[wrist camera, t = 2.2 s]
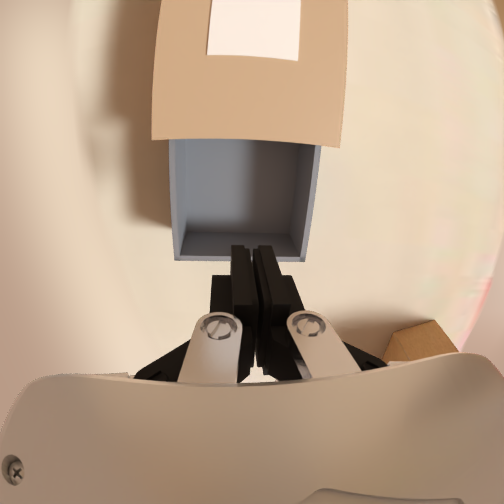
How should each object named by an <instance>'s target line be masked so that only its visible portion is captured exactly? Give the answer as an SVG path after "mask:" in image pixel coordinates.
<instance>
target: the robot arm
mask: <svg viewBox="0 0 504 504" xmlns="http://www.w3.org/2000/svg"><path fill="white" fill-rule="evenodd" d="M255 354H256V361H257V367H262V368H263V375H270V376H272V377H274V378H275V379H276V380H275V382H260V383H240V382H242V381H243V380H244V379H245V378H246V377H247V376H249V375H250V367H253V366H254V356H255ZM0 504H504V377H503V376H502V374H501V373H500V372H499V371H498V369H497V368H496V367H495V366H494V365H493V364H492V363H491V361H490V360H488V359H487V358H486V357H484V356H482V355H479V354H475V353H466V352H454V353H447V354H440V355H436V356H432V357H427V358H422V359H418V360H414V361H389V362H388V364H386V363H385V362H384V361H382V360H381V359H379V358H377V357H375V356H372V355H370V354H368V353H366V352H364V351H362V350H360V349H358V348H356V347H354V346H351V345H349V344H347V343H345V342H343V341H342V340H341V339H340V337H339V336H338V334H337V333H336V331H335V330H334V329H333V327H332V326H331V324H330V323H329V321H328V320H327V319H326V318H325V317H324V316H322V315H321V314H319V313H316V312H313V311H305V309H304V306H303V304H302V301H301V298H300V296H299V293H298V291H297V288H296V285H295V283H294V280H293V278H292V276H291V275H282V274H281V271H280V268H279V265H278V262H277V260H276V257H275V254H274V251H273V248H272V245H258V249H253V256H252V261H251V255H250V249H249V248H245V246H244V245H231V271H230V275H212V286H211V300H210V313H209V314H206V315H204V316H202V317H201V318H200V319H199V320H198V321H197V323H196V325H195V328H194V331H193V334H192V337H191V339H190V340H188V341H187V342H185V343H184V344H182V345H180V346H179V347H177V348H176V349H174V350H172V351H171V352H169V353H167V354H166V355H164V356H162V357H161V358H159V359H157V360H156V361H154V362H152V363H151V364H149V365H147V366H146V367H144V368H142V369H141V370H140V371H138V372H137V373H136V375H131V376H129V375H128V373H127V372H126V373H111V374H58V375H51V376H45V377H41V378H38V379H35V380H33V381H31V382H30V383H28V384H27V385H26V386H25V387H24V388H23V389H22V390H21V392H20V393H19V394H18V396H17V398H16V399H15V401H14V403H13V405H12V406H11V408H10V410H9V412H8V415H7V417H6V419H5V421H4V424H3V426H2V429H1V432H0Z"/></svg>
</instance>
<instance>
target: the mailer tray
mask: <svg viewBox="0 0 504 504" xmlns="http://www.w3.org/2000/svg"><path fill="white" fill-rule="evenodd" d="M320 153H321V146H320V145H312V144H303V143H293V142H281V141H268V140H250V139H169V180H170V204H171V222H172V236H173V248H174V259H175V260H176V261H231V245H244V246H245V248H249V249H250V255H251V261H252V256H253V249H258V245H272V248H273V251H274V254H275V257H276V260H277V262H305V258H306V252H307V246H308V240H309V233H310V227H311V221H312V214H313V207H314V200H315V193H316V185H317V178H318V170H319V162H320Z"/></svg>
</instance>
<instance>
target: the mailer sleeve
mask: <svg viewBox="0 0 504 504" xmlns="http://www.w3.org/2000/svg"><path fill="white" fill-rule="evenodd" d="M347 44H348V0H162V1H161V7H160V14H159V21H158V29H157V37H156V47H155V58H154V71H153V89H152V140H166V139H250V140H268V141H281V142H293V143H303V144H312V145H320V146H328V147H335V148H340V140H341V131H342V121H343V111H344V99H345V85H346V69H347Z"/></svg>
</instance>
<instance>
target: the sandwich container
mask: <svg viewBox="0 0 504 504" xmlns="http://www.w3.org/2000/svg"><path fill="white" fill-rule="evenodd" d="M454 352H459V351H458V350H457V348H456V347H455V346H454V344H453V343H452V342H451V340H450V339H449V337H448V336H447V335H446V334H445V332H444V331H443V330H442V328H441V327H440V326H439V325H438V323H437V322H436V321H435V320H433V321H430V322H426V323H423V324H420V325H417V326H414V327H410V328H407V329H404V330H400V331H397V332H394V333H393V334H392V337H391V339H390V342H389V344H388V346H387V349H386V351H385V354H384V356H383V358H382V361H384V362H385V363H386V364H388V362H389V361H414V360H418V359H422V358H427V357H432V356H436V355H440V354H447V353H454Z"/></svg>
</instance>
